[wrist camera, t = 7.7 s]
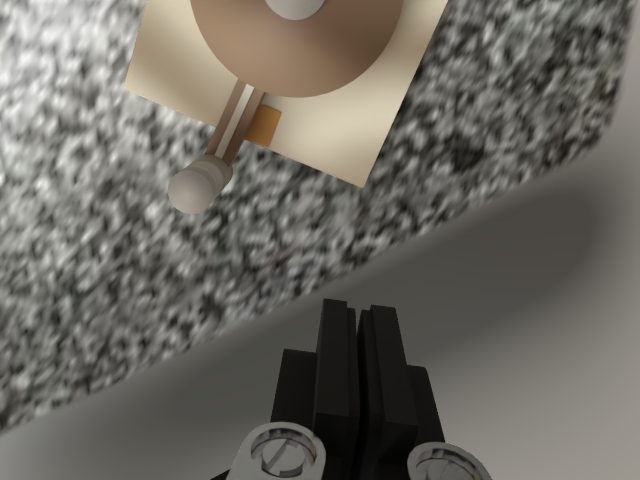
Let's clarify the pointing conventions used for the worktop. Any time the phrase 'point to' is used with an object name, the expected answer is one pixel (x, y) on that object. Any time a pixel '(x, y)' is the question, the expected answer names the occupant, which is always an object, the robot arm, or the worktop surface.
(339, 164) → the base board
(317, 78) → the walnut dial
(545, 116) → the worktop surface
